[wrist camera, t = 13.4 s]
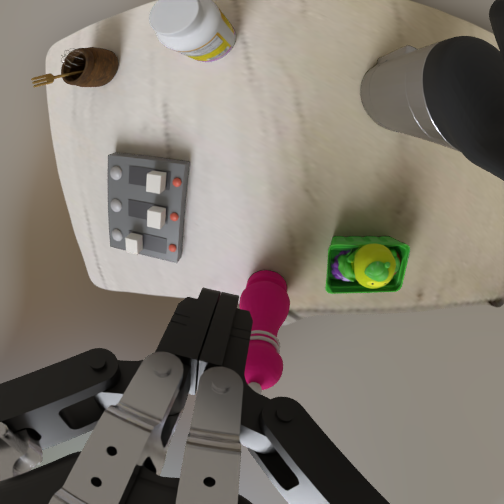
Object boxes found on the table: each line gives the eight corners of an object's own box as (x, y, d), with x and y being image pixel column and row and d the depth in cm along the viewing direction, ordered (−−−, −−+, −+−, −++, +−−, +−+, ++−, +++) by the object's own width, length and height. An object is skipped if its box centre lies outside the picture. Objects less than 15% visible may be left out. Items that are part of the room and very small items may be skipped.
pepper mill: (234, 279, 44) (204, 386, 26) (274, 259, 41) (263, 370, 24) (260, 310, 46) (244, 415, 29) (298, 293, 44) (299, 403, 26)
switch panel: (115, 152, 35) (107, 155, 34) (189, 161, 35) (184, 165, 33) (116, 240, 43) (109, 247, 41) (181, 256, 43) (176, 263, 41)
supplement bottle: (194, 16, 25) (152, -18, 14) (243, 23, 25) (221, -16, 14) (179, 59, 28) (130, 41, 17) (227, 67, 29) (196, 47, 18)
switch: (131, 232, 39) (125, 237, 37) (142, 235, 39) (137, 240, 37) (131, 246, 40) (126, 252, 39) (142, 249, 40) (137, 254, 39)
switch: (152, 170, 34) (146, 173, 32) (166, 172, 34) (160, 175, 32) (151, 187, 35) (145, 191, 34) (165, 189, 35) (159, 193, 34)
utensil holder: (125, 71, 29) (70, 66, 19) (94, 95, 31) (37, 101, 21) (112, 42, 27) (58, 32, 17) (83, 67, 29) (27, 66, 18)
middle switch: (152, 205, 36) (147, 210, 35) (165, 208, 36) (160, 212, 35) (152, 221, 38) (147, 226, 36) (165, 223, 38) (160, 229, 36)
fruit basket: (321, 274, 42) (329, 325, 32) (324, 219, 37) (337, 262, 28) (390, 272, 40) (414, 320, 30) (399, 220, 36) (432, 260, 26)
